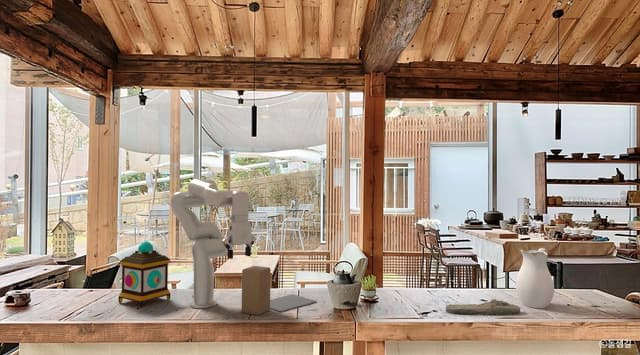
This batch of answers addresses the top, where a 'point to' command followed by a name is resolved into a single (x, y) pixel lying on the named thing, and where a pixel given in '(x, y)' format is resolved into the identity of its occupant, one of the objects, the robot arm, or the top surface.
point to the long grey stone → (484, 308)
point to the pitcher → (534, 280)
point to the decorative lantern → (144, 275)
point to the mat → (289, 302)
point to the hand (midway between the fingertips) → (239, 257)
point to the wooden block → (256, 290)
